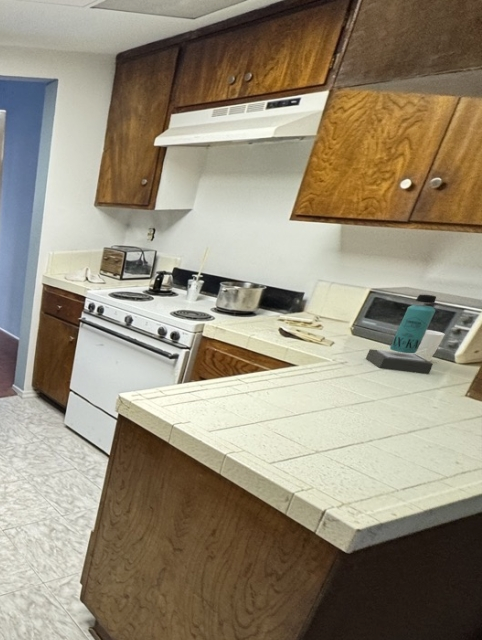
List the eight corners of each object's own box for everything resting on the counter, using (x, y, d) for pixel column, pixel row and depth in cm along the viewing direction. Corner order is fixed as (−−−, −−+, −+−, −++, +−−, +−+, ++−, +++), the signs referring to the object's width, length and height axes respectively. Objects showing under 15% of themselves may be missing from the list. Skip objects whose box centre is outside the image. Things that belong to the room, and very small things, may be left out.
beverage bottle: (385, 351, 160) (411, 292, 153) (413, 354, 156) (440, 294, 149) (388, 355, 155) (414, 294, 148) (416, 359, 151) (444, 297, 144)
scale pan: (410, 357, 158) (412, 353, 158) (423, 365, 151) (425, 360, 150) (375, 354, 162) (377, 349, 161) (386, 361, 154) (388, 356, 154)
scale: (411, 363, 160) (415, 354, 158) (428, 374, 150) (433, 363, 148) (365, 358, 165) (369, 349, 163) (379, 368, 155) (383, 358, 153)
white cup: (417, 356, 168) (429, 329, 164) (438, 363, 161) (452, 335, 157) (393, 355, 169) (405, 328, 165) (413, 362, 161) (426, 334, 158)
